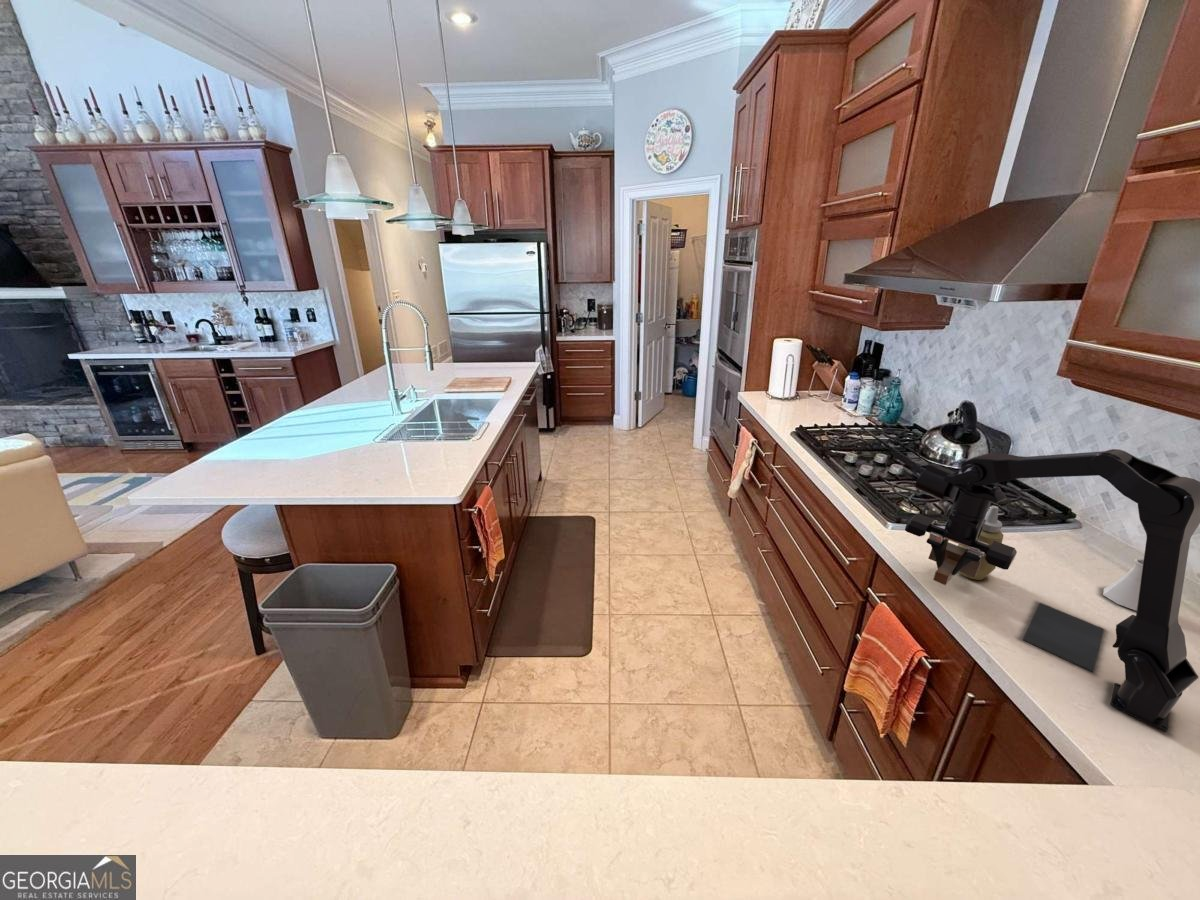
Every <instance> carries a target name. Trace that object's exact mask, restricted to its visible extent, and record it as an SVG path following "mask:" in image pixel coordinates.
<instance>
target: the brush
mask: <svg viewBox="0 0 1200 900" xmlns="http://www.w3.org/2000/svg"><path fill="white" fill-rule="evenodd" d="M966 550H967V549H965V548H962V547H959V546H958V544H957V545H956V544H954V543H953V542H952V543H951V542H949V541H948V544H947V547H946V552H945V556H944V561H943V563H942V565H941V566H940V567H939V568H937V570H936V571H935V573H934V576H933V578H932V580H933V581H935V582H936V583H939V584H941V585H944V586H947V584H948V583H949V581H950V580H951V579H952V577H953V575H952V573H953V570H954V568H955V567H956V565H957V563H958V561H959V560H960V558H961V556H962V555H963V553H964V552H965V551H966ZM983 557H984V556H983ZM983 557H982V559H981V560H980V561H979V562H974V561H972V562H970V563H969V564H967V565H965V566H964V567H963V568H962V569H961V570H960V572H962V573H964V574H967V575H969V576H972V577H975V576H976V574H977V572H978V570H979V567H980V565H981V562H982V560H983ZM928 560H930V561H933V562H935V563H936V559H935V555H934V552H933V549H932V548H931V549H930V553H929V556H928Z"/></svg>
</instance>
